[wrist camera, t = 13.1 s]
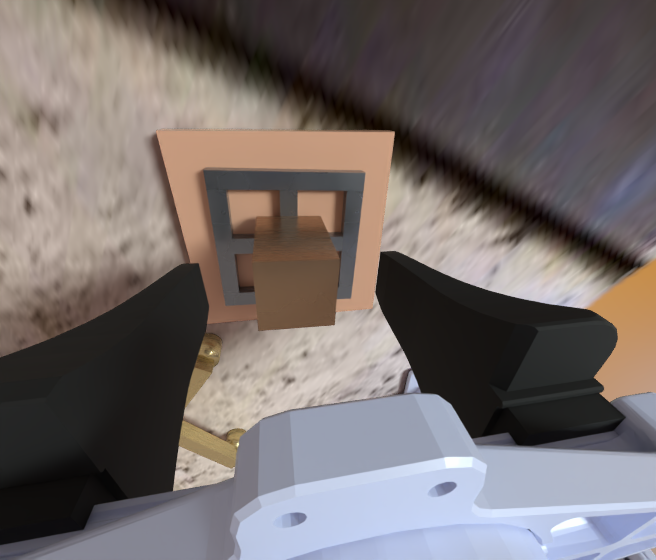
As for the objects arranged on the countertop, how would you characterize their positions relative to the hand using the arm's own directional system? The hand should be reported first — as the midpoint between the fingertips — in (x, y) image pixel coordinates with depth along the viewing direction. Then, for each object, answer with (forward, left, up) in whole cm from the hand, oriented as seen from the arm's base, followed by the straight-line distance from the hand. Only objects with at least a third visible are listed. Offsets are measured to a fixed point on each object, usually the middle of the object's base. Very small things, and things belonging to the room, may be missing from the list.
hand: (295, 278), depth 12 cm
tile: (0, 0, -5) cm, 5 cm away
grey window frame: (0, 0, -4) cm, 4 cm away
